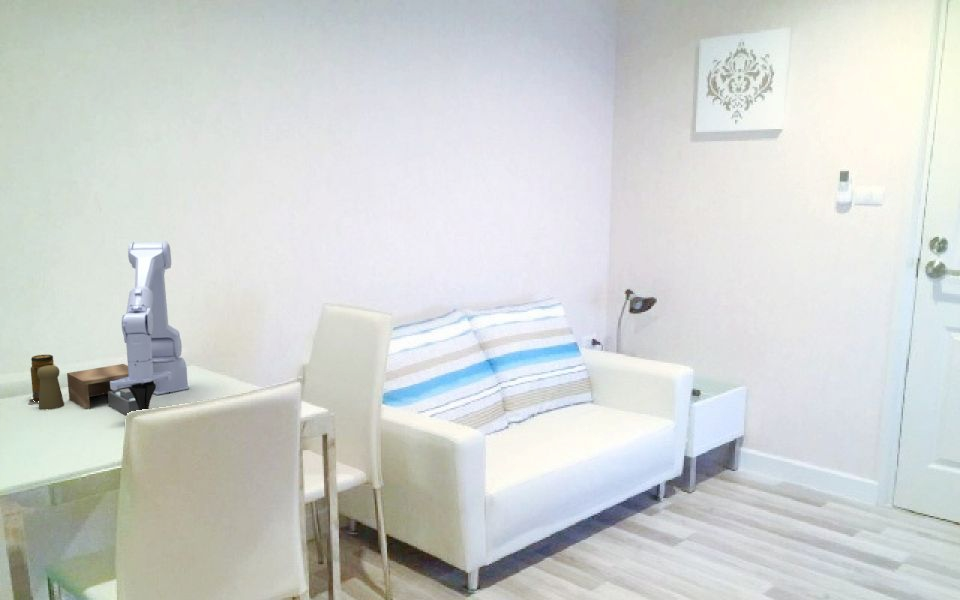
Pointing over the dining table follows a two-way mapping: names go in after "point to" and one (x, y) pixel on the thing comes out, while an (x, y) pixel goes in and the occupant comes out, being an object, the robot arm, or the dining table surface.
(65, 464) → the dining table surface
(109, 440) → the dining table surface
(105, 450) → the dining table surface
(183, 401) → the dining table surface
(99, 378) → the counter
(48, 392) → the cork
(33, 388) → the condiment
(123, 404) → the tray
